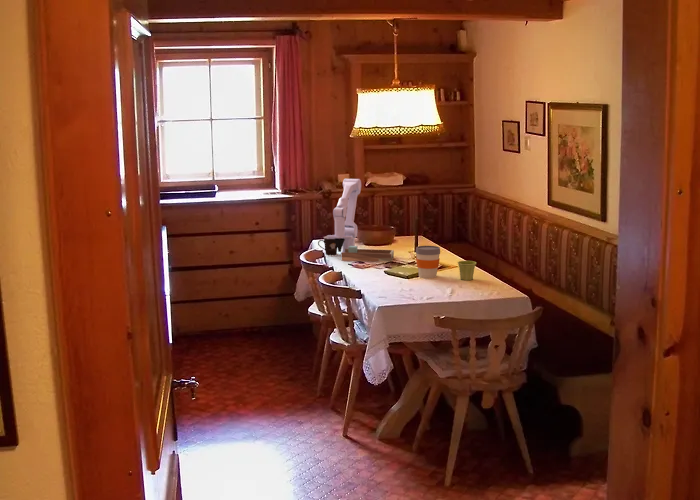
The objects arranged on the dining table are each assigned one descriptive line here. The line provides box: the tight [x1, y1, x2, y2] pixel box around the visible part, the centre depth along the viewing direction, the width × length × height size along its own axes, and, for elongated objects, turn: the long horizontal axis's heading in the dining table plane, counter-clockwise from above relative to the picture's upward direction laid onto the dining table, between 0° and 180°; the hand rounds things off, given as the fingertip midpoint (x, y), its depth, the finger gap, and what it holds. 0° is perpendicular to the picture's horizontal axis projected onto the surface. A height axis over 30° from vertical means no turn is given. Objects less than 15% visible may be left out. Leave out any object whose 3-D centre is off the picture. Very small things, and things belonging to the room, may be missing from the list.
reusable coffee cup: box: [415, 245, 441, 279], centre depth 437 cm, size 12×13×15 cm
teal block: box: [348, 245, 358, 253], centre depth 488 cm, size 4×4×4 cm
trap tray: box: [341, 248, 395, 262], centre depth 485 cm, size 13×28×4 cm, turn 81°
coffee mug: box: [317, 235, 338, 256], centre depth 500 cm, size 12×9×10 cm
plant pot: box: [457, 260, 477, 281], centre depth 431 cm, size 9×9×9 cm
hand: (339, 251), depth 490 cm, fingers closed
